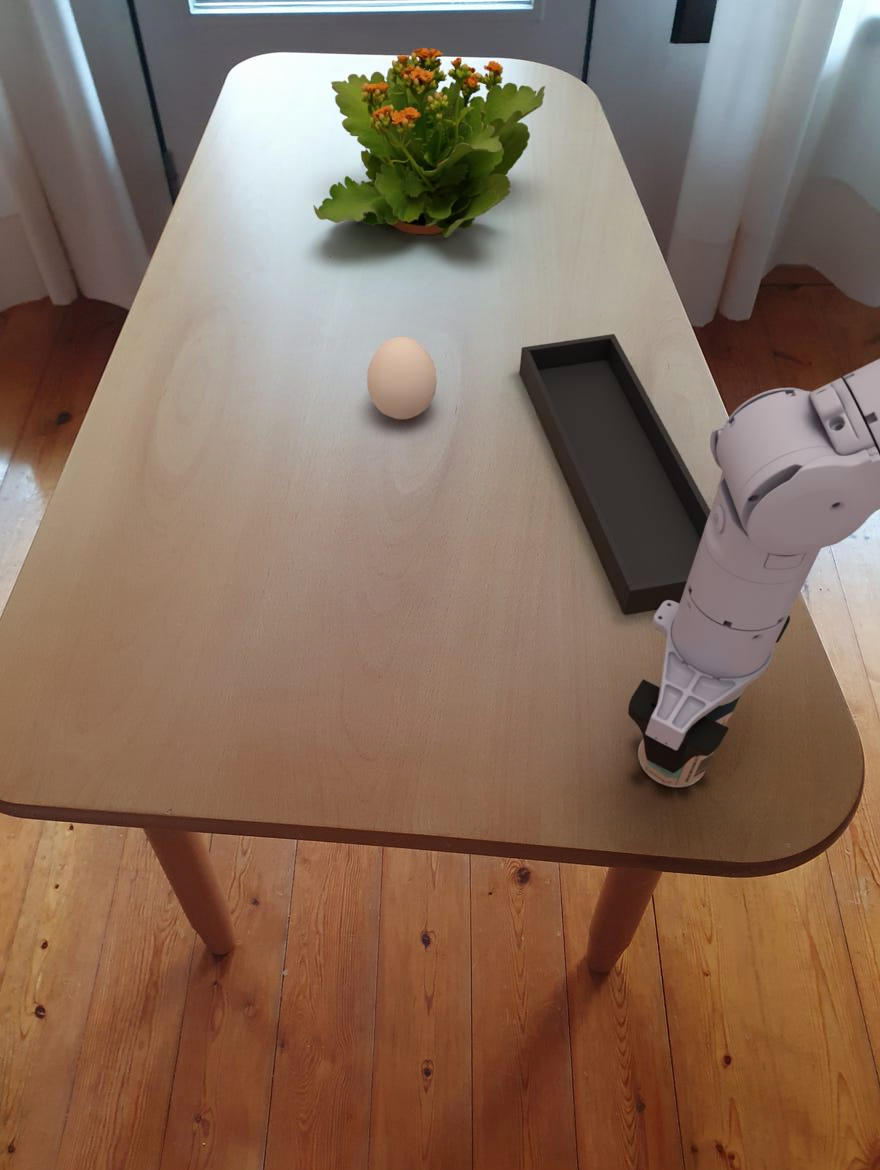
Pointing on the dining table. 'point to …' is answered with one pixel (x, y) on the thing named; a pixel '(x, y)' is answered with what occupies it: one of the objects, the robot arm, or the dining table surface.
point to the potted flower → (429, 144)
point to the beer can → (696, 764)
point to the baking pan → (618, 467)
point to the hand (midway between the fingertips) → (687, 720)
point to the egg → (401, 378)
